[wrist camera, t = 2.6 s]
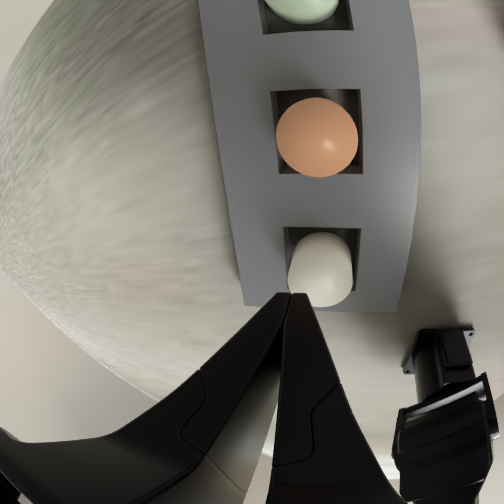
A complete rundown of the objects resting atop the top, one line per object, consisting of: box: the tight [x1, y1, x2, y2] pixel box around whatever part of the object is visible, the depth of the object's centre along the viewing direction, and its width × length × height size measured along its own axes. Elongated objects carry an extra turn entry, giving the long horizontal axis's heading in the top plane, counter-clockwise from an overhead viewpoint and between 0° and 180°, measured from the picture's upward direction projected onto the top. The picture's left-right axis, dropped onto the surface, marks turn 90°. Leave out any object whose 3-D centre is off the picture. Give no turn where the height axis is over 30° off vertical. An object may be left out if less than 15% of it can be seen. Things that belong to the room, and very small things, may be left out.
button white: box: [287, 232, 353, 307], centre depth 18 cm, size 4×4×3 cm
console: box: [198, 0, 421, 313], centre depth 16 cm, size 26×12×2 cm, turn 7°
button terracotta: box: [276, 97, 358, 177], centre depth 14 cm, size 4×4×3 cm
